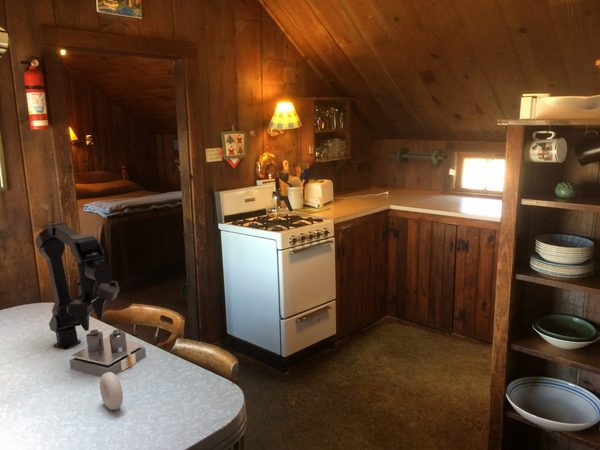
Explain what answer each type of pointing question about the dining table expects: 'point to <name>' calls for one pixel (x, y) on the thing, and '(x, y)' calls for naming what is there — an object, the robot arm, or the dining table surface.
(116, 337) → the weight
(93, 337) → the weight
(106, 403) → the donut
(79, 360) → the scale base
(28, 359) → the dining table surface
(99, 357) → the scale pan
